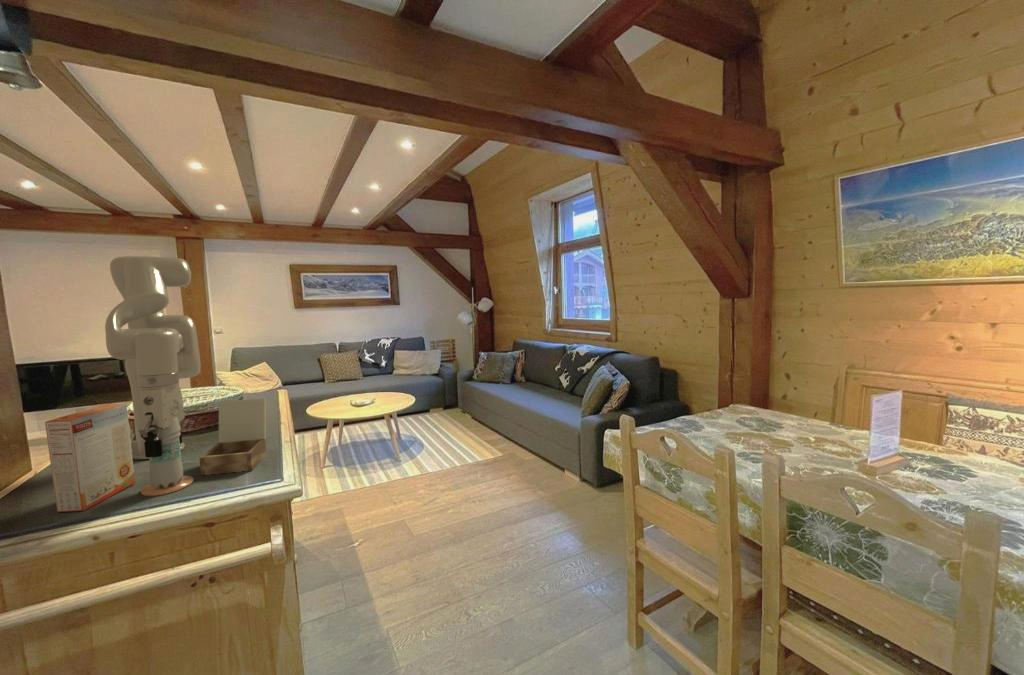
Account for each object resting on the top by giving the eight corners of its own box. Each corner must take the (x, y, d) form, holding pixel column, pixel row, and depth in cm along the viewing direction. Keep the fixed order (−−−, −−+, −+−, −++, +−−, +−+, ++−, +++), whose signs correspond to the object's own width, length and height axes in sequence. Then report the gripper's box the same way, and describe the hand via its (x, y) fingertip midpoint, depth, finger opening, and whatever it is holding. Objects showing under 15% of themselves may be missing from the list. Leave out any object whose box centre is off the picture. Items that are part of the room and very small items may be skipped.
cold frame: (200, 476, 107) (199, 457, 107) (220, 459, 119) (219, 442, 118) (252, 470, 110) (250, 453, 110) (266, 454, 122) (265, 438, 121)
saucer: (130, 498, 95) (130, 496, 95) (155, 480, 104) (155, 478, 104) (181, 493, 97) (180, 490, 97) (200, 476, 107) (200, 473, 107)
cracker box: (111, 484, 102) (103, 403, 100) (136, 483, 103) (129, 403, 101) (53, 513, 88) (43, 420, 87) (83, 512, 89) (73, 419, 87)
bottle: (191, 480, 103) (185, 403, 102) (164, 492, 97) (157, 410, 95) (170, 478, 105) (164, 402, 103) (142, 489, 98) (135, 408, 96)
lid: (219, 459, 118) (215, 403, 117) (225, 455, 122) (221, 400, 120) (265, 455, 121) (262, 400, 120) (269, 450, 125) (266, 397, 124)
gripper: (156, 386, 91) (163, 461, 93) (194, 373, 108) (199, 437, 109) (116, 389, 89) (123, 465, 91) (161, 375, 106) (166, 440, 108)
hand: (164, 449), depth 100 cm, fingers open, 8 cm apart
